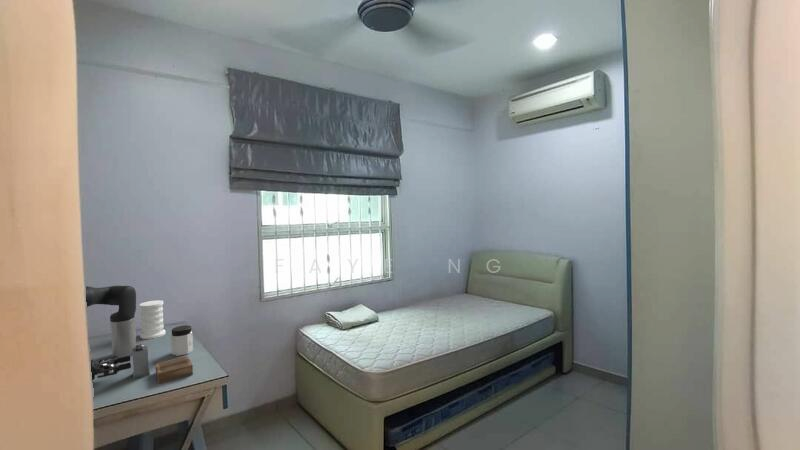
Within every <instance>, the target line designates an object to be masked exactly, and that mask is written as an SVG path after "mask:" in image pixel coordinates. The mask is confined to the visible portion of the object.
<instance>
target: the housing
mask: <svg viewBox="0 0 800 450" xmlns="http://www.w3.org/2000/svg"><path fill="white" fill-rule="evenodd" d="M132 353H133V355H132V368H133V369H132V379H133V380H135V379H139V378H143V377H146V376H147V377H148V376H149V375H151V373H150V368H149V353H148V346H147V345H145V344H144V343H141V344H140V343H139V344H136V346H135V348H133V349H132Z"/></svg>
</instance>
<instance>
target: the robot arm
mask: <svg viewBox="0 0 800 450" xmlns="http://www.w3.org/2000/svg"><path fill="white" fill-rule="evenodd" d="M85 286H86V285H85ZM136 291H137V290H136V289H135V287H133V286H131V285H112V286H105V287H93V286H86V302H87V307H86V308H88V307H90V306H91V307H92V306H93V305H108V306H118V311H116V312H114V313H111V314H110V316H109V323H110V325H109V327H110V339H111V357H110V356H109V357H107V358H102V359H98V361H97V362H98V363H95V361H94V359H93V360H92V359H91V360H90V361H91V372H92V380H91V381H94V380H95V378H96V376H97V378H98V379H100V378H106V377H110V376H114V375H117V374H118V373H119V372H121V371H125V370H129V369H131V368H132V364H131V356H133V353H132V349H133V348H135V346H136V345H137V337H136V335H137V334H136V319H135V318H136V317H135V315H136V311H137V292H136Z"/></svg>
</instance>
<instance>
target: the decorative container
mask: <svg viewBox="0 0 800 450" xmlns="http://www.w3.org/2000/svg"><path fill="white" fill-rule="evenodd" d="M163 305H164V300H161V299H160V300H157V299H156V300H149V301H145V302H141V303H140V304H139V308H140V314H141V317H140V320H141V323H140V324H141V329H140V330H141V332H142V333H141V334H139V337H140V339H141V338H142V339H141V340H152V338H153V339H157V338H160V337H164V336H165V335H166V330H165V329H164V327H165V325H164V312H163V311H164V307H163Z"/></svg>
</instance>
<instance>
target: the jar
mask: <svg viewBox="0 0 800 450" xmlns="http://www.w3.org/2000/svg"><path fill="white" fill-rule="evenodd" d="M193 336H194V335H193V331H192V326H190V325H187V324H185V325H179V326H176V327H173V328H171V334H170V351H171V355H172V356H176V357H179V356H187V355H189V354H190V353H191V352H193V351H194V342H193V341H194V340H193Z"/></svg>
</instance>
